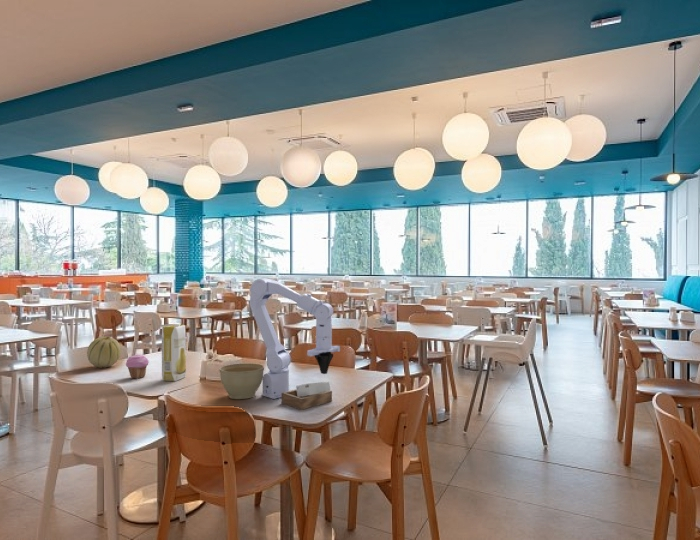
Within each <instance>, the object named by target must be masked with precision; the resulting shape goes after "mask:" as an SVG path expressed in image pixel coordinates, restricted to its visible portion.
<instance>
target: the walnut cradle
mask: <svg viewBox="0 0 700 540" xmlns="http://www.w3.org/2000/svg"><path fill="white" fill-rule="evenodd" d="M331 402H333V391H332V390H330V391H327V392H323V393H319V394H315V395H311V396H307V397H298V396H297V389H296V388H295V389H292V390H289V391H287V392H283V393H282V397H281V404H284V405H285V406H289V407H292V408H295V409H298V410H305V409H309V408H312V407H317V406H319V405H323V404H327V403H331Z"/></svg>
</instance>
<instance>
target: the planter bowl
mask: <svg viewBox="0 0 700 540" xmlns="http://www.w3.org/2000/svg"><path fill="white" fill-rule="evenodd" d="M264 371H265V366H264V365H263V364H261V363H251V362H250V363H245V362H244V363H243V362H242V363H232V364H231V363H230V364H226V365H222V366H221V367H219V373H220V374H219V375H220V381H221V385H222V387H223V388H224V390H225V391H226V393H227V395H228V398H230V399H232V400H233V399H234V400H246V399H251V398H254V397H255V396H256V392H257V391H258V389H259V388H260V387H261V384H262V383H263V376H264Z"/></svg>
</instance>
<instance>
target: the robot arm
mask: <svg viewBox="0 0 700 540" xmlns="http://www.w3.org/2000/svg"><path fill="white" fill-rule="evenodd" d="M249 292H250V297H249V307H250V309H251V310H250V311H251V313H252V315H253V318H254V319H255V322H256V325H257V328H258V329H259V333H260V335H261V338H262V341H263V342H264V346H265V348H266V350H265V358H266V366H267V369H268V372H267V373H263V379H262V393H261V394H260V395H261V396H264V397H267V398H270V399H271V400H272V399H273V400H275V399H280V398H282V393H283V392H287V391H290V380H289V379H290V368H289V366H290V364H291V362H292V357H291V354H290V353H289V352H287V350H286V347H285V346H284V345H283V344H282V343H281V342H280V340H279V336H278V334H277V332H276V330H275V328H274V327H275V326H274V325H273V322H272V319H271V317H270V314H269V311H268V309H267V307H266V304H267V302H268V300H269V298H270V297H272V295H279V296H282V297H284V298H286V299H288V300H290V301H293V302H295V303H296V304H297V307H298V308H299V309H301V310H303V311H305V312H307V313H308V314H311V315H314V317H315V318H316V319H315V320H316V321H315V322H316V324H315V342H316V343H315V348H312V349H308V350H307V351H306V356H307V357H314V358H315V360H316V362H317V364H318V367H319V370H320V374H322V375H327V374H328V371H329V367H330V364H331V362H332V359H333V358H334V353H335V352H339V353H340V351H341V346H340V345H333V343H332V342H333V341H332V340H333V339H332V338H333V335H332V334H333V331H332V329H333V328H332V327H333V324H332V316H333V315H334V307H333V306H332V305H331V304H330V303H328V302H323V300H322V299H320V300H319V299H318V298H316V297H313V296H312V294H311V293H303V294H300V293H298V292H297V291H295V290H293V289H291V288H290V287H288V286H286V285H285V284H283V283H281V282H279V281H277V280H274V279H272V278H263V279H262V278H257V279H254V281H252V284H251V285H250V287H249Z"/></svg>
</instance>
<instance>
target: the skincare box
mask: <svg viewBox="0 0 700 540" xmlns="http://www.w3.org/2000/svg"><path fill="white" fill-rule="evenodd" d="M296 389H297V396H298V397H307V396H311V395H315V394H319V393H323V392H327V391H331V385H330V382H329V381H323V382H309V383H304V384H299V385H296V387H295V390H296Z"/></svg>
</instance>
